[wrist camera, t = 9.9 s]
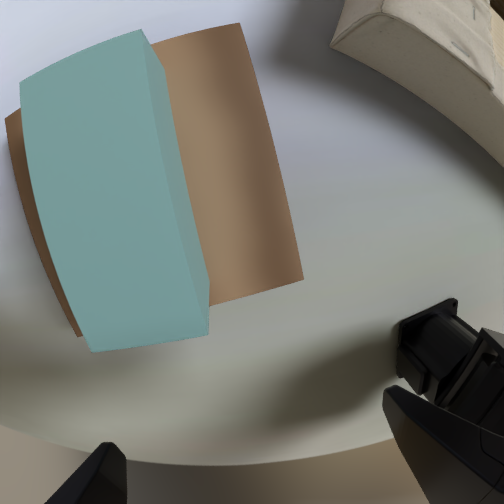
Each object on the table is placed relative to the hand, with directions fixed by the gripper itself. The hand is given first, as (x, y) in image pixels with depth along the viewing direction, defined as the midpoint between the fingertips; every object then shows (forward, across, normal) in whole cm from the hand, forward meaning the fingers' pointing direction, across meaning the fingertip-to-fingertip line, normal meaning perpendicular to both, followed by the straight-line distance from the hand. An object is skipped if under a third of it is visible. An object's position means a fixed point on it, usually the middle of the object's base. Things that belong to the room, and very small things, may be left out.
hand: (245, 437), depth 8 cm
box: (+13, -29, -16) cm, 35 cm away
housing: (+8, +3, -8) cm, 12 cm away
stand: (+11, +3, -8) cm, 14 cm away
